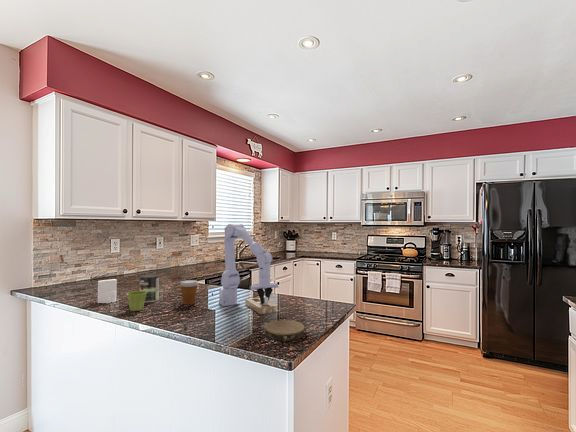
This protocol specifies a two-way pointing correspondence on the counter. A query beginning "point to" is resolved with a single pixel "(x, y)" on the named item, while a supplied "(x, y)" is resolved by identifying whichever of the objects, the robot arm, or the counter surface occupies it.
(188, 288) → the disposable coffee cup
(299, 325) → the round tan disc
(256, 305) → the slotted wooden frame
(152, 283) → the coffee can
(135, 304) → the plant pot
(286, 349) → the counter surface
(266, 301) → the steel bracket tab
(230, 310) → the counter surface
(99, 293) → the white rectangular block
